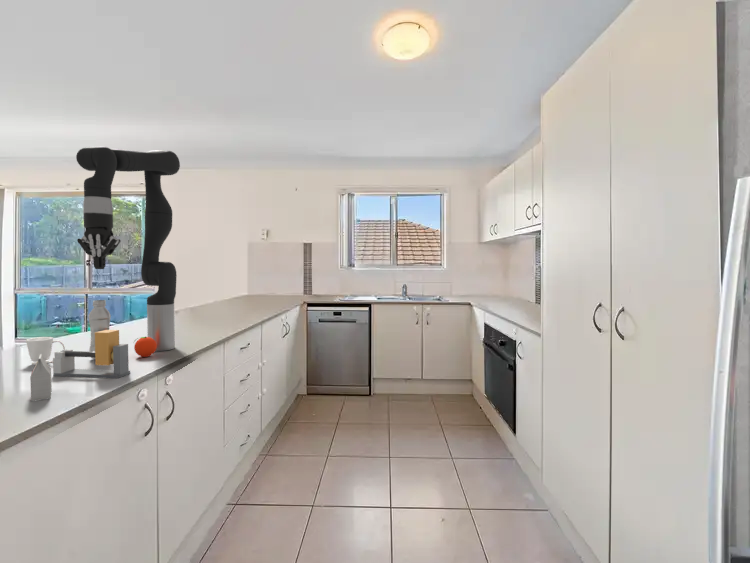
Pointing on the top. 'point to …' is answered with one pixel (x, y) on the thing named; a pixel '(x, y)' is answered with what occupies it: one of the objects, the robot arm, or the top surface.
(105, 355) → the sleeve
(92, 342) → the plastic bottle
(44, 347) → the cup
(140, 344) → the clementine
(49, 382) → the milk carton
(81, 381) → the top surface
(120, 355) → the gray horizontal rod stand
